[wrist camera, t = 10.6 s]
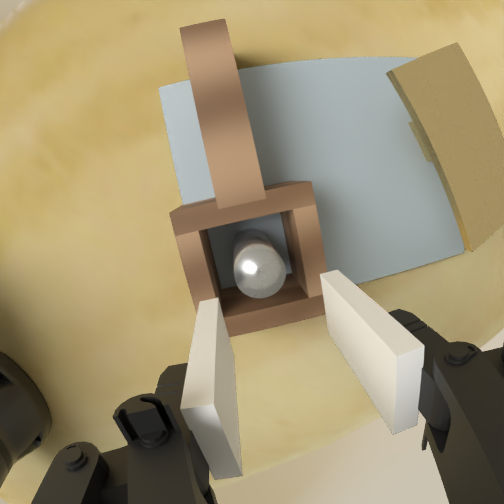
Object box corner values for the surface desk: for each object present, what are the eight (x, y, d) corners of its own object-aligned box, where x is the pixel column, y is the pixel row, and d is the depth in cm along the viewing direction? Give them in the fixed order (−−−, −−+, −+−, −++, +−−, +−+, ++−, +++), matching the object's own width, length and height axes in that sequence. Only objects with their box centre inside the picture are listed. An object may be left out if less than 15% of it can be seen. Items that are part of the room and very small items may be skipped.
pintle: (236, 265, 27) (240, 303, 19) (228, 231, 27) (229, 255, 19) (271, 257, 28) (290, 291, 19) (263, 223, 27) (280, 243, 19)
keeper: (405, 228, 28) (472, 251, 18) (338, 102, 25) (391, 69, 16) (453, 193, 28) (523, 203, 18) (395, 74, 25) (457, 42, 15)
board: (212, 316, 28) (212, 318, 28) (159, 89, 24) (158, 87, 23) (460, 251, 29) (464, 252, 28) (430, 60, 24) (433, 58, 24)
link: (311, 285, 28) (332, 312, 22) (209, 308, 28) (205, 342, 22) (260, 44, 23) (269, 12, 17) (153, 67, 23) (135, 40, 17)
